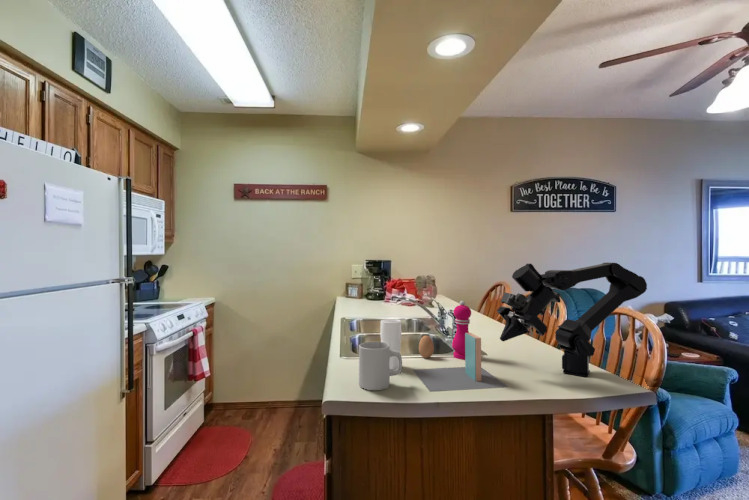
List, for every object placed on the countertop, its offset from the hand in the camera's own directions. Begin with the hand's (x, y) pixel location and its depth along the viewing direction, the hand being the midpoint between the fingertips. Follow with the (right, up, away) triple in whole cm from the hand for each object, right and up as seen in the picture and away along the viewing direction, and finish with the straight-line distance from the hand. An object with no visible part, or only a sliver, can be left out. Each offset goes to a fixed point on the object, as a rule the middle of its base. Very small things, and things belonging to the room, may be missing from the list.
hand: (501, 340), depth 103 cm
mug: (-36, -11, -7) cm, 38 cm away
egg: (-19, -11, +18) cm, 29 cm away
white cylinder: (-32, -11, +8) cm, 35 cm away
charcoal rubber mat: (-13, -11, -2) cm, 17 cm away
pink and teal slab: (-9, -10, -1) cm, 14 cm away
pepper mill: (-7, -11, +19) cm, 23 cm away
